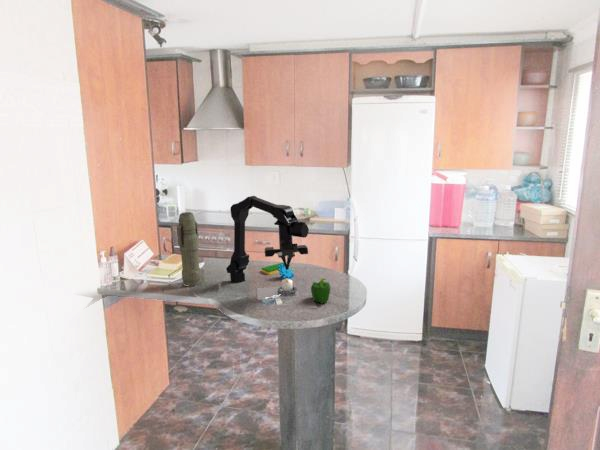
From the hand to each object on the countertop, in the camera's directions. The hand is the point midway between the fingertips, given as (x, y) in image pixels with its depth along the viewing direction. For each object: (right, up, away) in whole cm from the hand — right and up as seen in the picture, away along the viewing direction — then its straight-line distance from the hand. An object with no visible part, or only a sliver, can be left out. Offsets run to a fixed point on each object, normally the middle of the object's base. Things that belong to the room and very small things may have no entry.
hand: (286, 269), depth 188 cm
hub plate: (-4, -12, +2) cm, 13 cm away
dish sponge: (-7, -5, +36) cm, 37 cm away
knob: (0, -10, +2) cm, 10 cm away
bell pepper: (+15, -13, -6) cm, 21 cm away
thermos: (-47, -9, +20) cm, 52 cm away
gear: (-1, -7, +22) cm, 23 cm away
